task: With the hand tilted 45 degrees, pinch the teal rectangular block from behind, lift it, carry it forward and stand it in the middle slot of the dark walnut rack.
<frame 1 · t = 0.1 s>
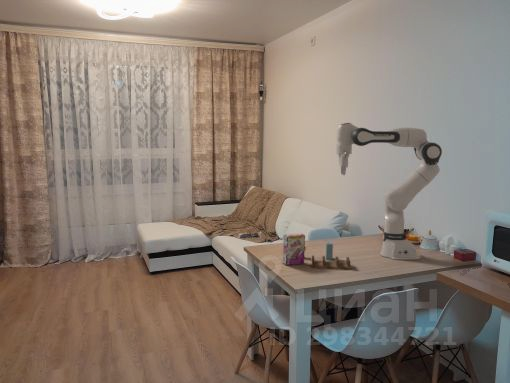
hand: (343, 174, 243), 48 cm above the table, tool pointing down, fingers open, 8 cm apart
bull figurine: (294, 256, 242), on the table
teal rectangular block: (329, 258, 238), on the table
rack: (330, 265, 224), on the table
candy bar box: (293, 264, 227), on the table
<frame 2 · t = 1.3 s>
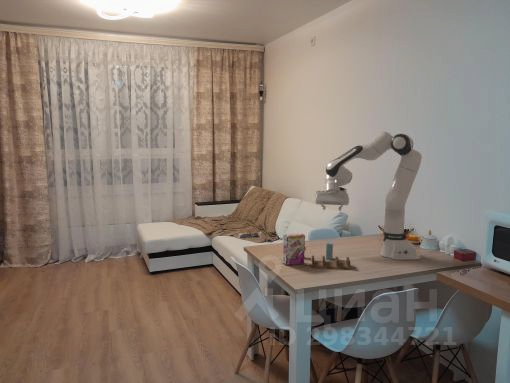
hand: (332, 209, 248), 26 cm above the table, tool tilted 45°, fingers open, 8 cm apart
nothing on the table moved.
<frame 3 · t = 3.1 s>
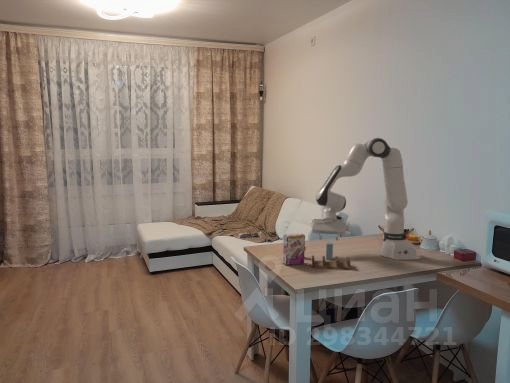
hand: (328, 239, 241), 10 cm above the table, tool tilted 45°, fingers open, 8 cm apart
nothing on the table moved.
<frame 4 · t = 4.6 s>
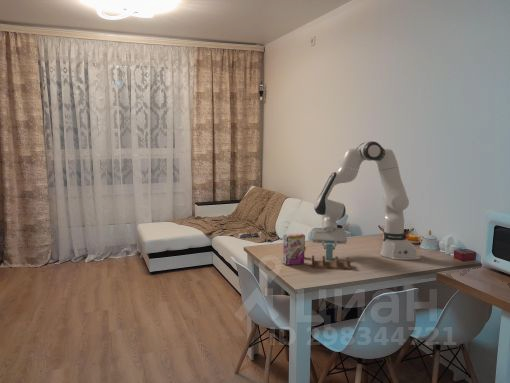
hand: (329, 248, 236), 6 cm above the table, tool tilted 45°, fingers closed on teal rectangular block, 3 cm apart
teal rectangular block: (329, 258, 238), on the table, touching gripper
everything else where it was.
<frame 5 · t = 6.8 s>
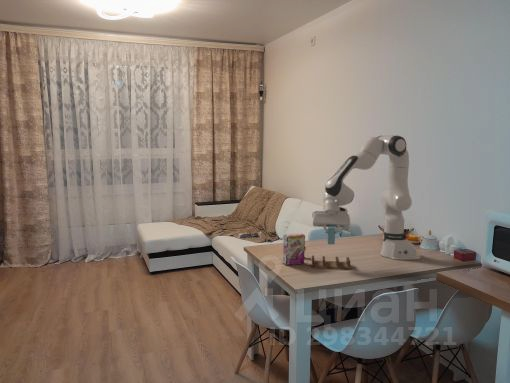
hand: (331, 232, 221), 18 cm above the table, tool tilted 45°, fingers closed on teal rectangular block, 3 cm apart
teal rectangular block: (331, 243, 222), point 13 cm above the table, touching gripper
everything else where it was.
when the fingers open (9 cm above the table, at t = 8.9 s): teal rectangular block drops 1 cm, resting on rack.
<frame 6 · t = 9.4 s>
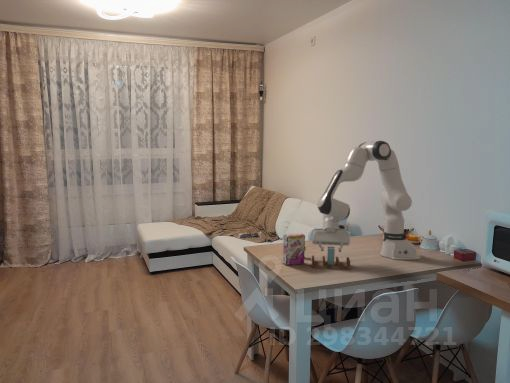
hand: (331, 250, 222), 9 cm above the table, tool tilted 45°, fingers open, 8 cm apart
teal rectangular block: (330, 263, 224), point 1 cm above the table, touching rack
everything else where it was.
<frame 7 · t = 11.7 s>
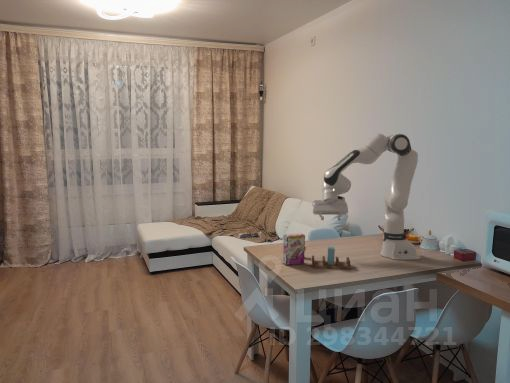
hand: (330, 219, 237), 22 cm above the table, tool tilted 45°, fingers open, 8 cm apart
nothing on the table moved.
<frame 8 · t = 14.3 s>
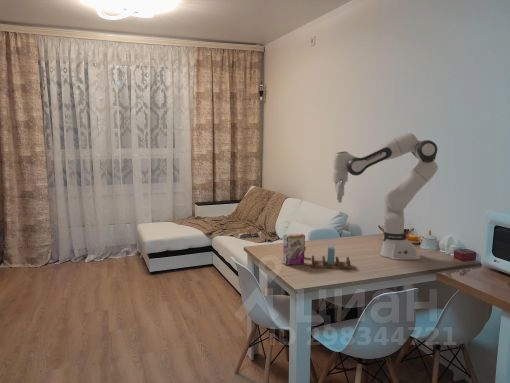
hand: (339, 201, 250), 31 cm above the table, tool pointing down, fingers open, 8 cm apart
nothing on the table moved.
at the end: teal rectangular block inside the target area (0.1 cm from its centre), point 1.2 cm above the table; teal rectangular block tilted 0°; the gripper is holding nothing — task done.
